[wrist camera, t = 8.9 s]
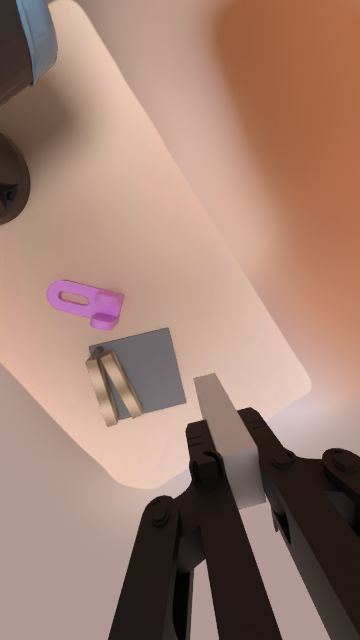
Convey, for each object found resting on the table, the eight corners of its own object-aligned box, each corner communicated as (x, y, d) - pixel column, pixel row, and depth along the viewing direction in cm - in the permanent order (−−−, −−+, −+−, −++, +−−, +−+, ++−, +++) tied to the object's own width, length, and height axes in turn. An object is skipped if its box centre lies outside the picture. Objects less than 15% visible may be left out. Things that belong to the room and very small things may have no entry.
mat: (89, 346, 43) (88, 347, 43) (168, 327, 44) (168, 328, 44) (113, 420, 47) (112, 421, 46) (186, 401, 48) (186, 402, 47)
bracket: (124, 295, 42) (117, 299, 35) (117, 322, 43) (109, 331, 36) (53, 276, 40) (31, 276, 33) (48, 305, 41) (26, 311, 34)
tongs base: (87, 348, 43) (81, 354, 40) (102, 345, 43) (98, 350, 40) (110, 417, 46) (106, 428, 43) (124, 414, 46) (121, 424, 43)
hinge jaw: (103, 353, 43) (100, 358, 41) (112, 349, 43) (110, 354, 41) (134, 411, 46) (132, 418, 44) (143, 407, 46) (142, 414, 44)
